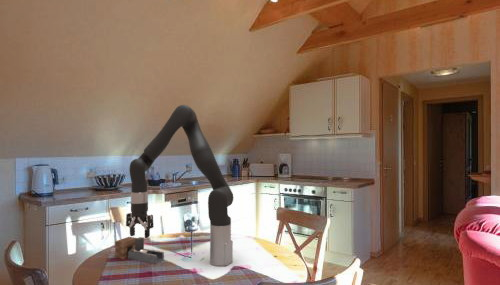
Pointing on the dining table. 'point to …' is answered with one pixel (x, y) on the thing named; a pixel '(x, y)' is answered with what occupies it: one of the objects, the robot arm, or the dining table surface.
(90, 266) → the dining table surface
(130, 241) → the walnut socket block
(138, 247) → the grey slider with post
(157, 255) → the metal channel
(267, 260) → the dining table surface
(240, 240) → the dining table surface
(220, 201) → the robot arm
